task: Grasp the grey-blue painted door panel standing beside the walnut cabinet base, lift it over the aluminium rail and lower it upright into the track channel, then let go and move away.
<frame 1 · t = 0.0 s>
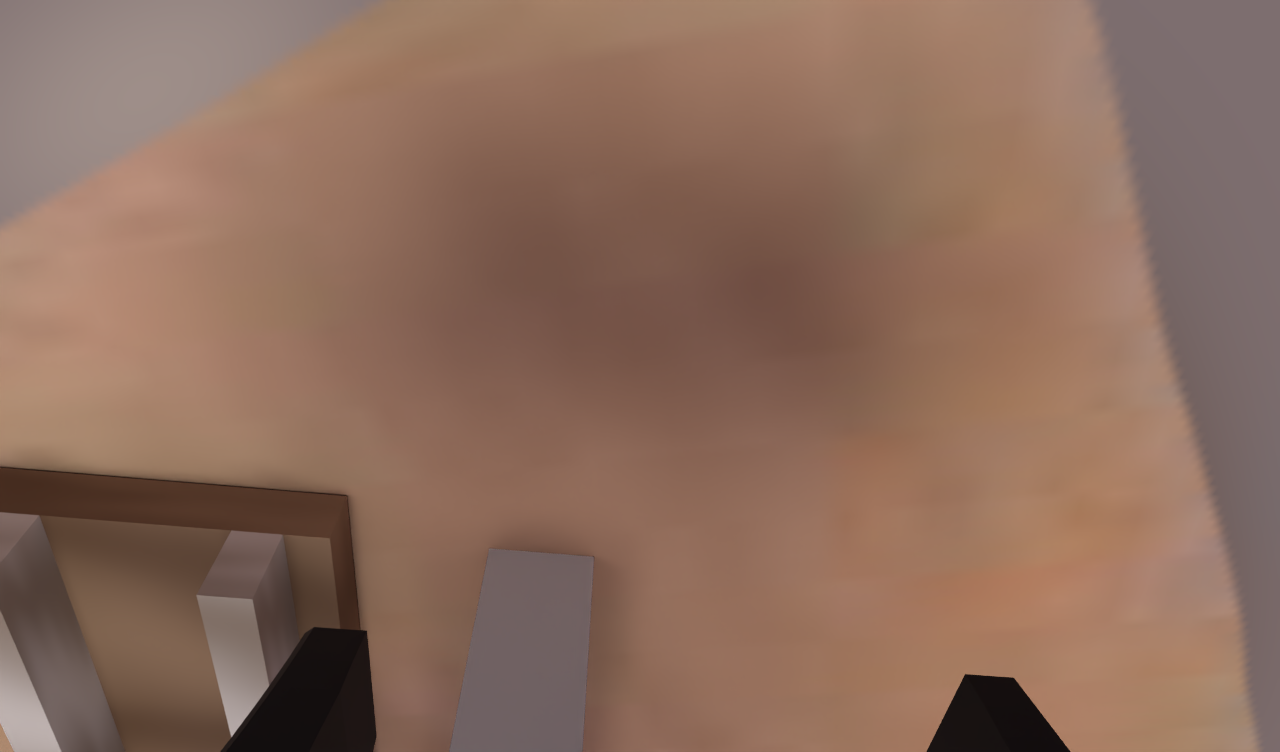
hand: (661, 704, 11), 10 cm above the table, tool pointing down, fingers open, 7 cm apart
track base: (219, 703, 27), on the table
door panel: (533, 670, 26), on the table
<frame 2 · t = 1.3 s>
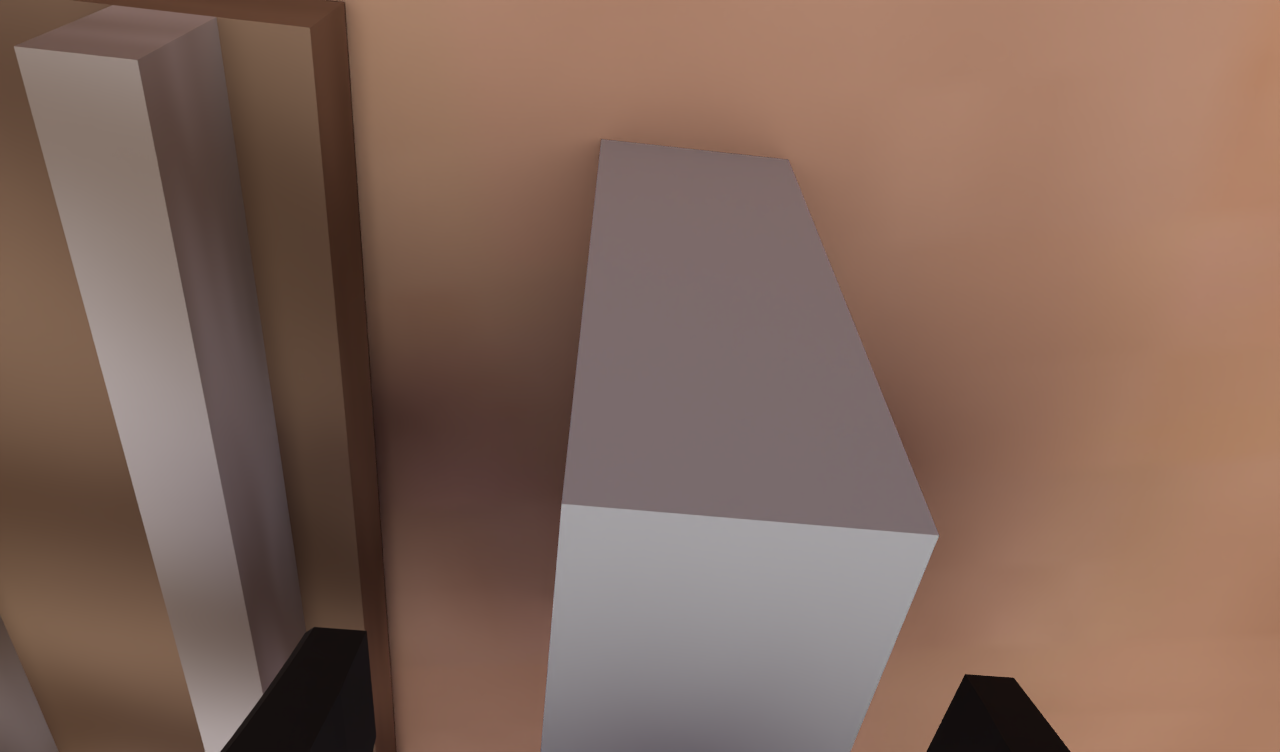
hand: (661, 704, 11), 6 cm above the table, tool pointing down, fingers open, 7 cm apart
track base: (136, 481, 17), on the table
door panel: (654, 417, 16), on the table
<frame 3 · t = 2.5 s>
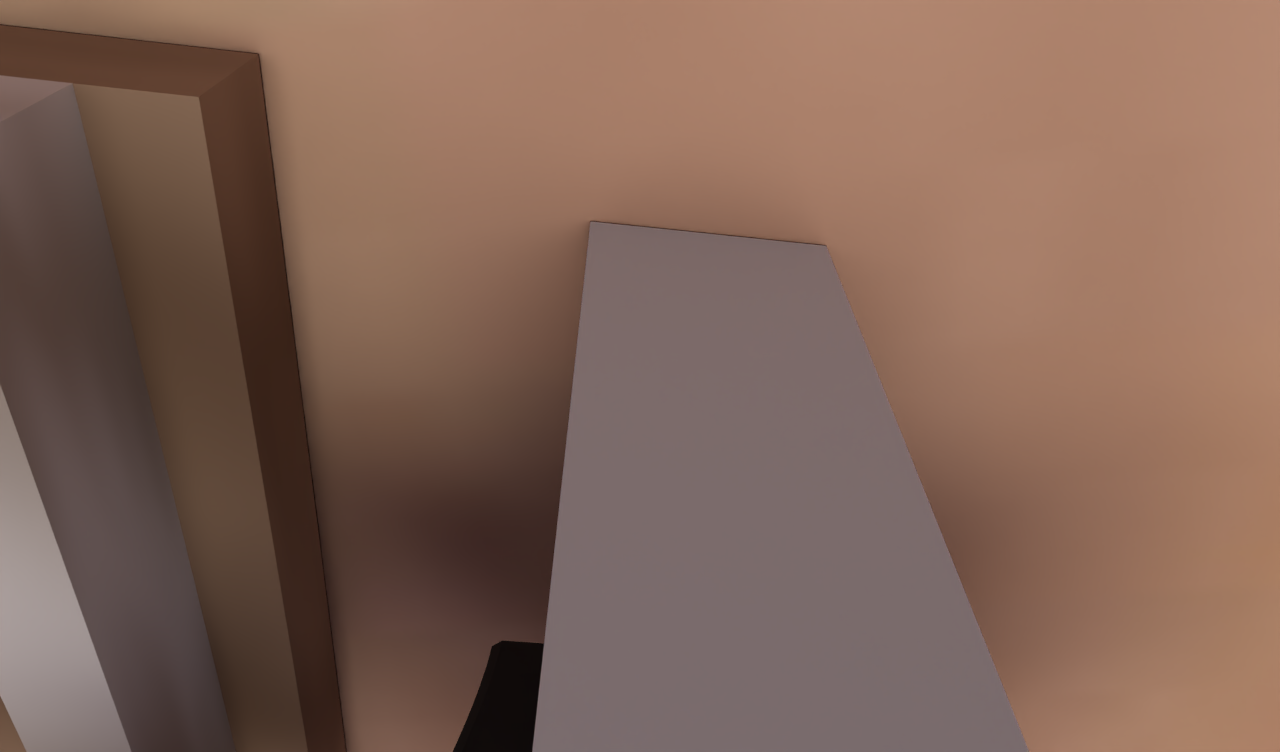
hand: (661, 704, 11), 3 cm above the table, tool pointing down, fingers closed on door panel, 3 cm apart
track base: (40, 606, 14), on the table
door panel: (657, 539, 13), on the table, touching gripper
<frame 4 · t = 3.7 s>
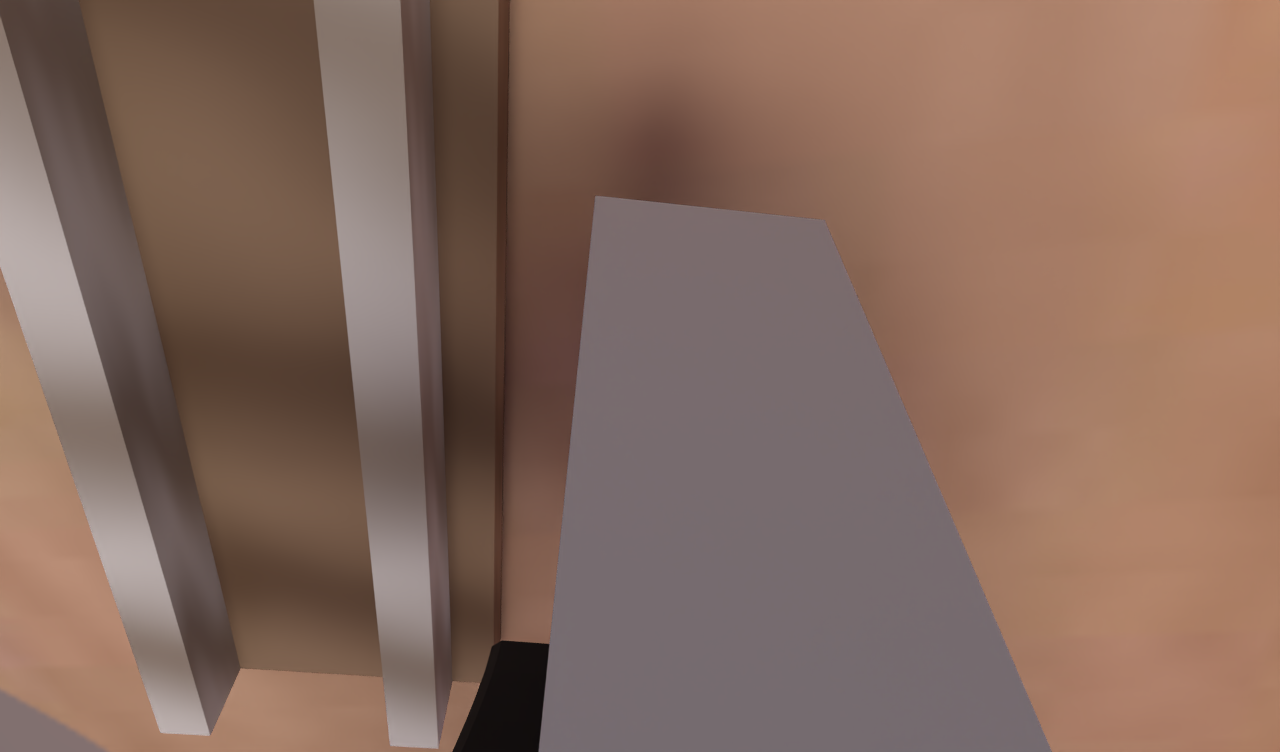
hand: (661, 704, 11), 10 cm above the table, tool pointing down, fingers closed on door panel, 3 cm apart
track base: (303, 362, 20), on the table
door panel: (658, 513, 13), point 7 cm above the table, touching gripper
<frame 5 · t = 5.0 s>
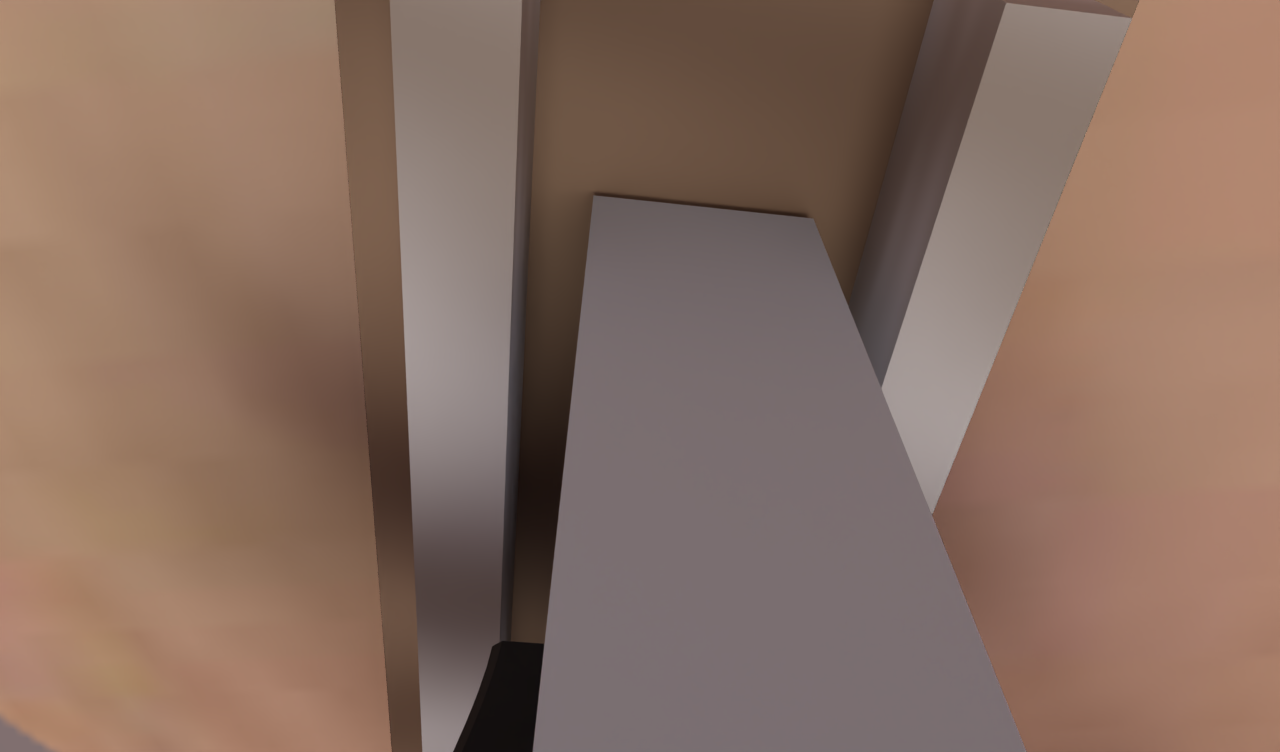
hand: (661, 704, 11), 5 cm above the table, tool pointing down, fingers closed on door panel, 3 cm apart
track base: (648, 478, 16), on the table
door panel: (655, 502, 14), point 2 cm above the table, touching gripper
when the fingers open (5 cm above the table, at t = 5.3 s): door panel stays where it is, resting on track base.
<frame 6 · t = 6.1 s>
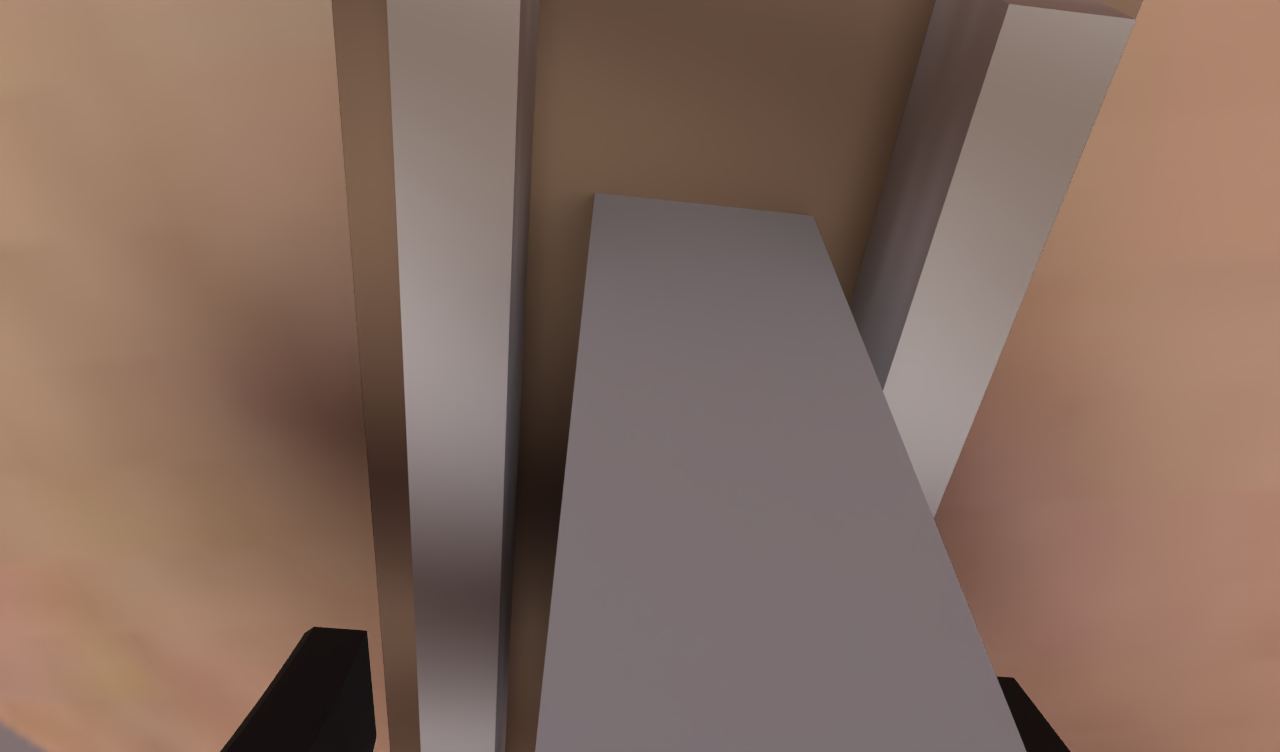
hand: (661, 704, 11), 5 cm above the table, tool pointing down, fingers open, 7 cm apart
track base: (648, 480, 16), on the table
door panel: (656, 497, 14), point 1 cm above the table, touching track base
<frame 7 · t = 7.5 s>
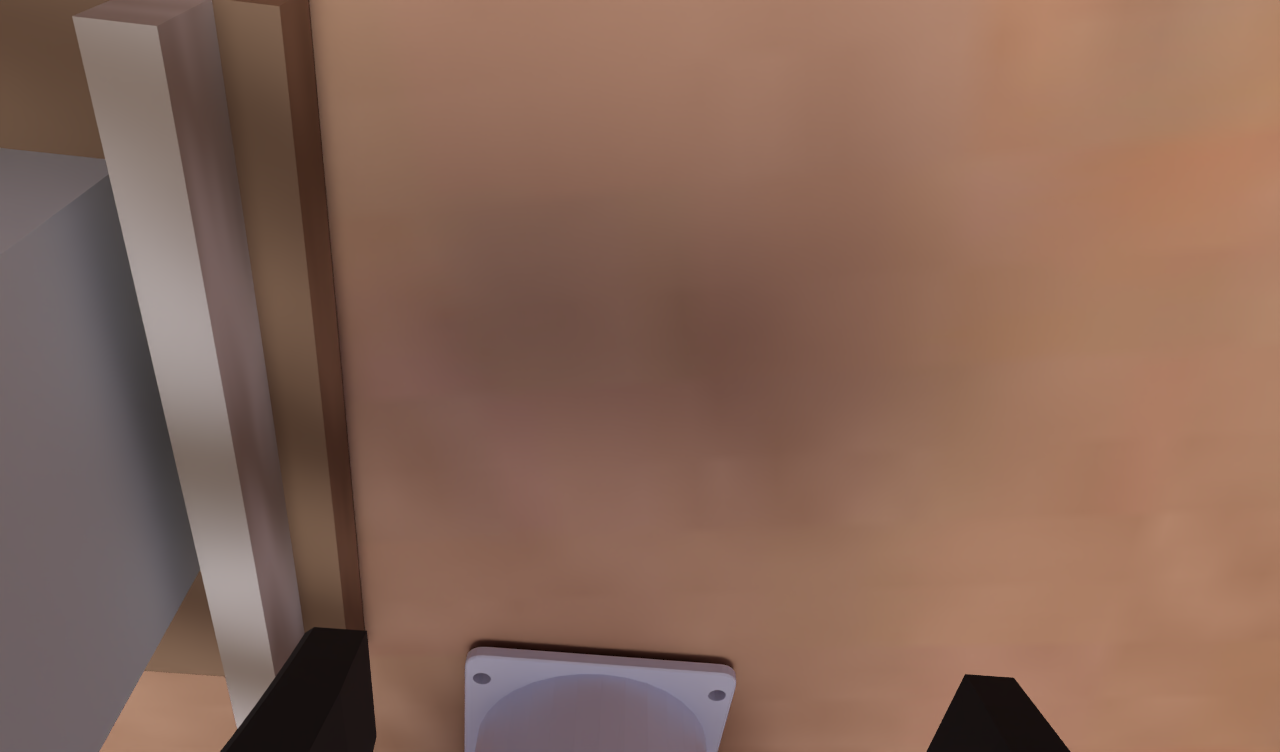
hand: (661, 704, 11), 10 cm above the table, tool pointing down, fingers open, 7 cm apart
track base: (148, 375, 21), on the table
door panel: (107, 378, 19), point 1 cm above the table, touching track base
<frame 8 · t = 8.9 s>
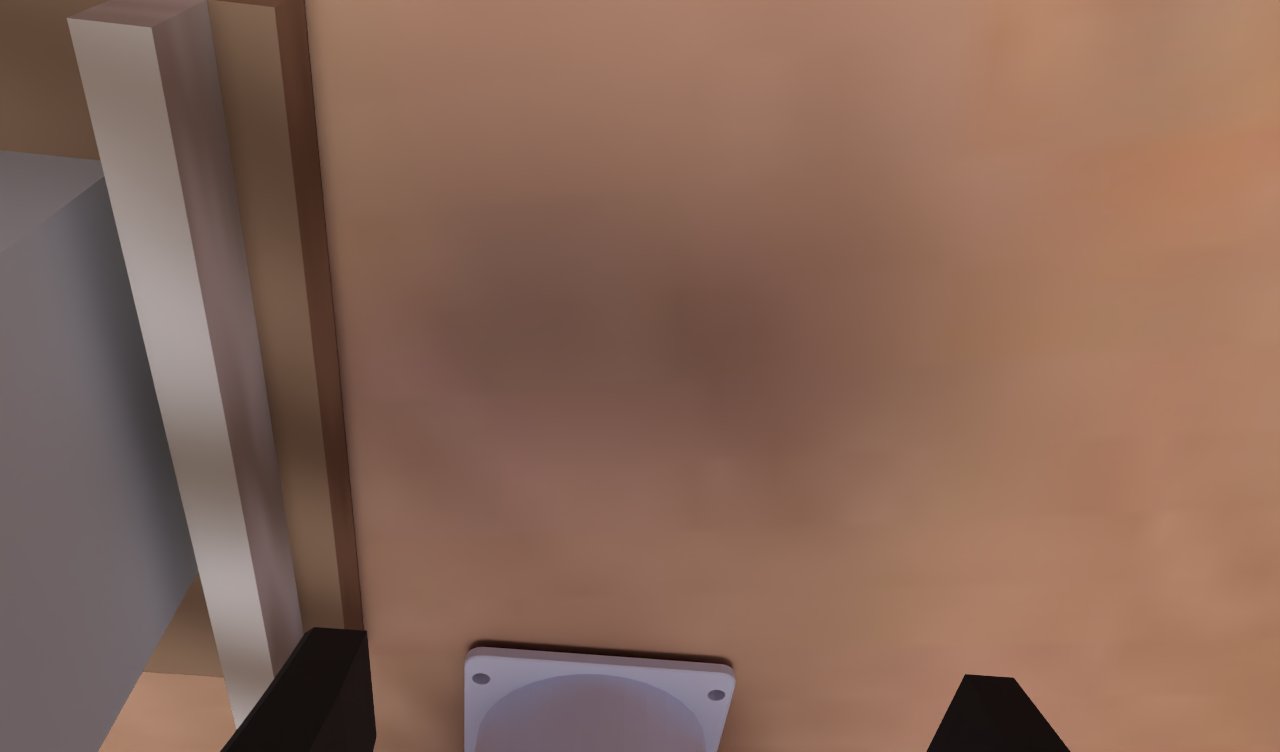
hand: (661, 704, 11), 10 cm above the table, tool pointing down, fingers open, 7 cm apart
track base: (146, 376, 21), on the table
door panel: (104, 379, 19), point 1 cm above the table, touching track base
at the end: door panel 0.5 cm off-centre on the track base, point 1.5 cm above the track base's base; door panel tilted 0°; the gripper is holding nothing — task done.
